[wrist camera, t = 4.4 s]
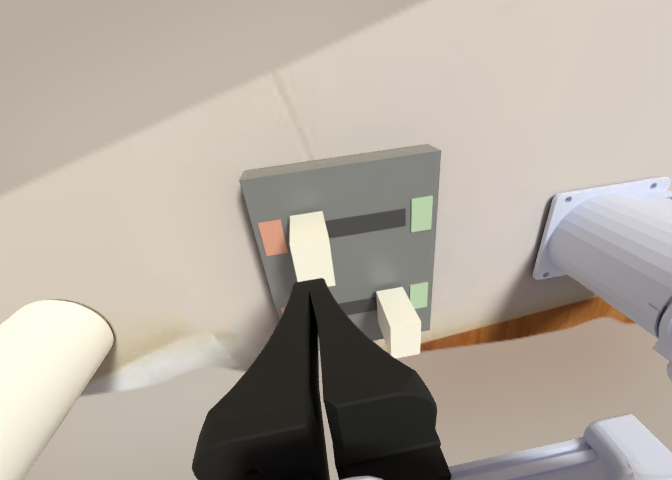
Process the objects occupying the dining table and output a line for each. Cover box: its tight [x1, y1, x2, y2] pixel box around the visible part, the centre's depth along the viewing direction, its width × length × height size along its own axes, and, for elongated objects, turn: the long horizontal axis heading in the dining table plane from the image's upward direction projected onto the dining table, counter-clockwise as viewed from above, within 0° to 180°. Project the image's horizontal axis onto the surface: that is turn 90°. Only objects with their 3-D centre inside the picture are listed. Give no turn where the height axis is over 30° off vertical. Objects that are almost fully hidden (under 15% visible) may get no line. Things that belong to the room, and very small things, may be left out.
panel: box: [239, 144, 441, 351], centre depth 22 cm, size 12×15×2 cm
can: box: [0, 300, 114, 480], centre depth 17 cm, size 6×6×12 cm
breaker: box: [376, 287, 421, 358], centre depth 21 cm, size 2×3×4 cm, turn 6°
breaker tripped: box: [290, 211, 335, 287], centre depth 17 cm, size 2×3×4 cm, turn 7°
